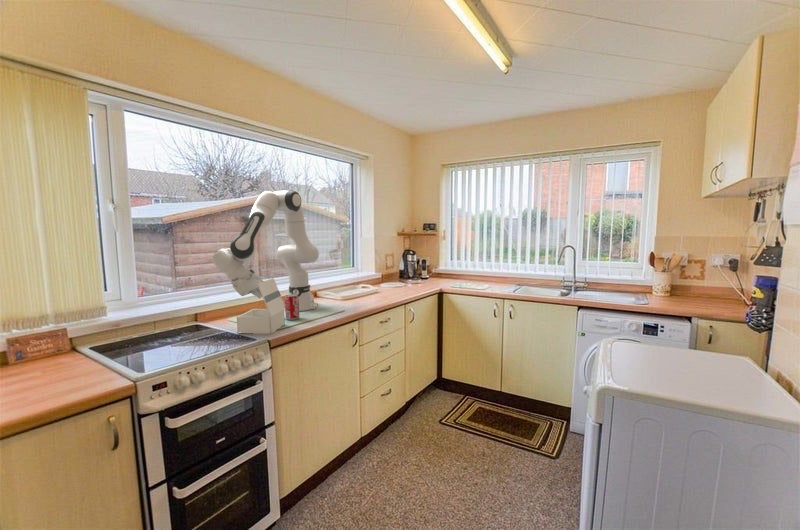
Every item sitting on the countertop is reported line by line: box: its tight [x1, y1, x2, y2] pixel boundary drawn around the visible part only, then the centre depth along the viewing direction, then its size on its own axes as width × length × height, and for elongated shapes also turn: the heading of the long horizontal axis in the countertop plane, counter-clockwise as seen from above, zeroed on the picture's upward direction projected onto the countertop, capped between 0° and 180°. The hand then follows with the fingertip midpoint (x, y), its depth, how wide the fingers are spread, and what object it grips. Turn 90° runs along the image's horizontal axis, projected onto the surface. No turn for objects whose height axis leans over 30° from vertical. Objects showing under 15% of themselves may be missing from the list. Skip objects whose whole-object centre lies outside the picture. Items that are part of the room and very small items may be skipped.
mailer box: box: [236, 308, 285, 335], centre depth 168 cm, size 16×16×8 cm
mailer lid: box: [257, 278, 286, 316], centre depth 166 cm, size 16×16×1 cm
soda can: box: [284, 293, 300, 321], centre depth 186 cm, size 7×7×13 cm
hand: (261, 297), depth 167 cm, fingers closed
